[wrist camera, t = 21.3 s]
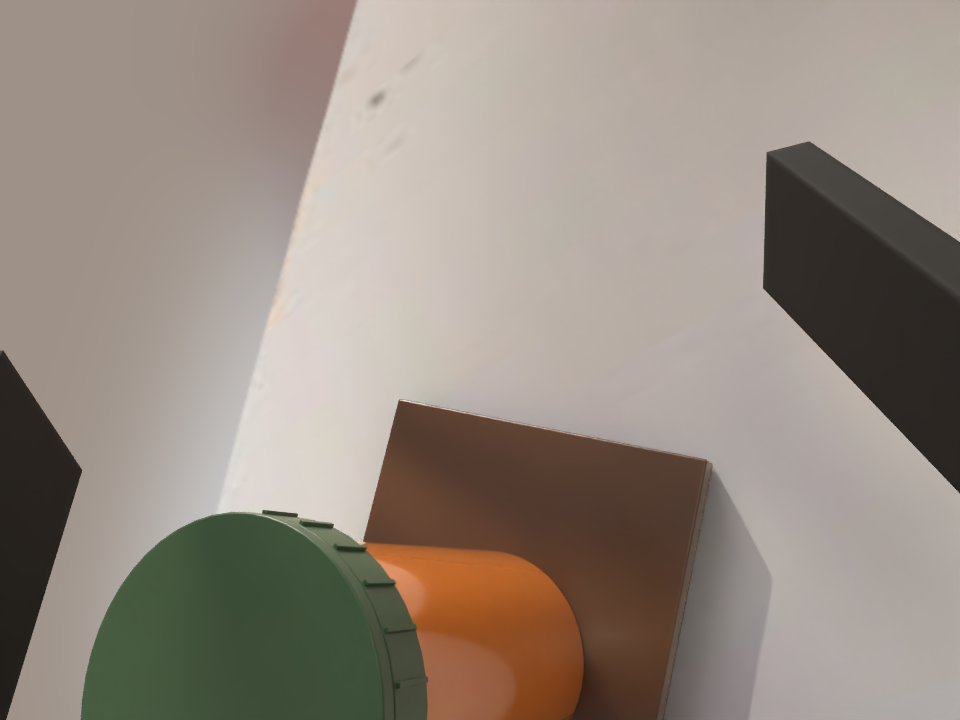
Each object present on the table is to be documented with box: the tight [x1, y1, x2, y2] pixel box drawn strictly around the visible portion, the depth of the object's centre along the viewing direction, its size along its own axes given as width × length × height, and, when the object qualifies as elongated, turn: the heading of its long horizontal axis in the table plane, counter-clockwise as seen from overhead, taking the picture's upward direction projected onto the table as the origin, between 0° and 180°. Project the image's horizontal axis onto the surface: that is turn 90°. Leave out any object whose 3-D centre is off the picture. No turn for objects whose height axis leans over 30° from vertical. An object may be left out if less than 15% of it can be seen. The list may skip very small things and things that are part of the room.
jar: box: [356, 541, 584, 720], centre depth 22 cm, size 7×7×12 cm
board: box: [363, 399, 712, 720], centre depth 28 cm, size 16×12×1 cm
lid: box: [81, 510, 428, 720], centre depth 17 cm, size 8×8×2 cm
